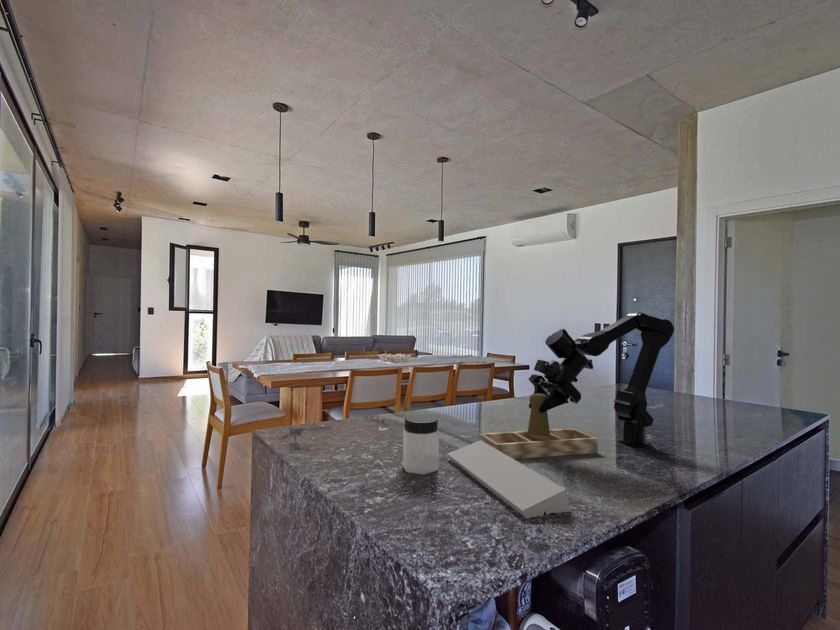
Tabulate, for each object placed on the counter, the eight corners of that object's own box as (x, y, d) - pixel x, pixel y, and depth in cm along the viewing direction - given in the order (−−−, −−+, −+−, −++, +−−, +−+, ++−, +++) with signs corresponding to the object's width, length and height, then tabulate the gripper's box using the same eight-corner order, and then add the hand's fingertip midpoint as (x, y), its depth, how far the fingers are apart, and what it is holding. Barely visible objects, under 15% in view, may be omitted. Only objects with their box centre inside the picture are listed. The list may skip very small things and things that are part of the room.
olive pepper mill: (531, 429, 123) (532, 391, 123) (552, 432, 120) (553, 393, 120) (524, 433, 118) (524, 394, 118) (546, 437, 115) (546, 396, 115)
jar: (396, 471, 100) (397, 420, 100) (408, 460, 108) (409, 413, 108) (433, 476, 97) (434, 424, 97) (442, 465, 105) (443, 416, 105)
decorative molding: (528, 534, 77) (571, 512, 81) (522, 510, 77) (565, 489, 80) (451, 471, 110) (484, 457, 113) (447, 453, 109) (480, 440, 112)
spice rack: (573, 441, 128) (573, 428, 128) (597, 452, 118) (597, 438, 118) (478, 447, 120) (479, 433, 120) (496, 460, 109) (496, 444, 109)
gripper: (534, 347, 129) (501, 385, 126) (571, 352, 111) (534, 396, 108) (556, 372, 131) (524, 410, 128) (597, 381, 113) (561, 425, 110)
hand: (534, 409), depth 119 cm, fingers closed on olive pepper mill, 5 cm apart
